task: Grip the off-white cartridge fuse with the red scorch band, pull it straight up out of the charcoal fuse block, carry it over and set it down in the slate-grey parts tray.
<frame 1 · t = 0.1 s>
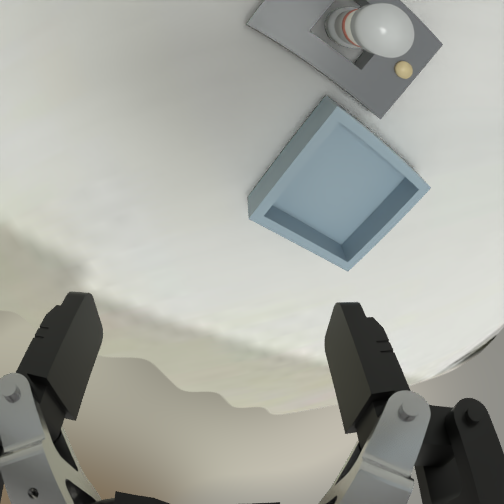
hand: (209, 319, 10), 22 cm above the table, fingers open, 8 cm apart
fuse block: (345, 27, 22), on the table
blown fuse: (345, 27, 22), resting in fuse block
parts tray: (335, 181, 32), on the table
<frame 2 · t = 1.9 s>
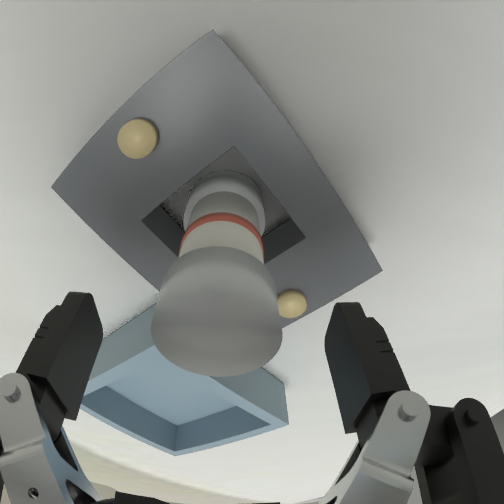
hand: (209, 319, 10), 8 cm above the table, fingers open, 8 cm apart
fuse block: (225, 205, 16), on the table
blown fuse: (225, 205, 16), resting in fuse block
parts tray: (174, 376, 25), on the table
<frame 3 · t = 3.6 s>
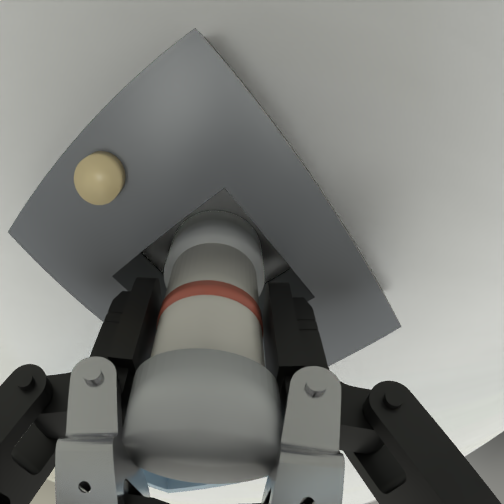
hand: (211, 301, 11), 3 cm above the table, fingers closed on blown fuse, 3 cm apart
fuse block: (216, 251, 14), on the table
blown fuse: (216, 251, 14), resting in fuse block, touching gripper
parts tray: (165, 419, 21), on the table
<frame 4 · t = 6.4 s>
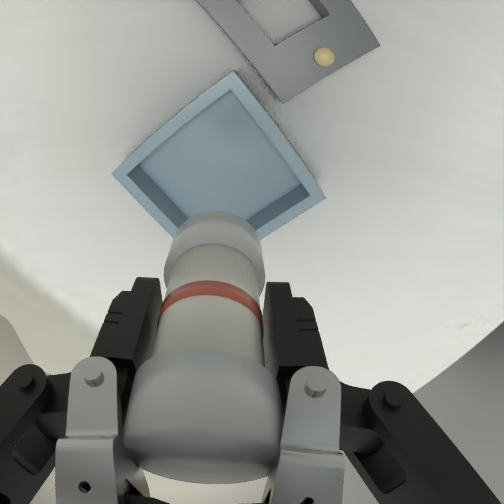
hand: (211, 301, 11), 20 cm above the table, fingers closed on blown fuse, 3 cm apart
fuse block: (279, 8, 21), on the table
blown fuse: (216, 251, 14), point 17 cm above the table, touching gripper
parts tray: (220, 167, 29), on the table
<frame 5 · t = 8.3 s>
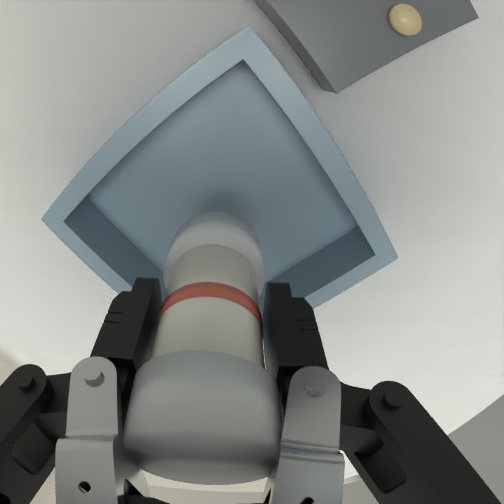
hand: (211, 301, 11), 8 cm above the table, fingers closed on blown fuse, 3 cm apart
blown fuse: (216, 252, 14), point 5 cm above the table, touching gripper
parts tray: (222, 201, 18), on the table
when the fingers open (6 cm above the table, at t = 9.5 s): blown fuse drops 1 cm, resting on parts tray.
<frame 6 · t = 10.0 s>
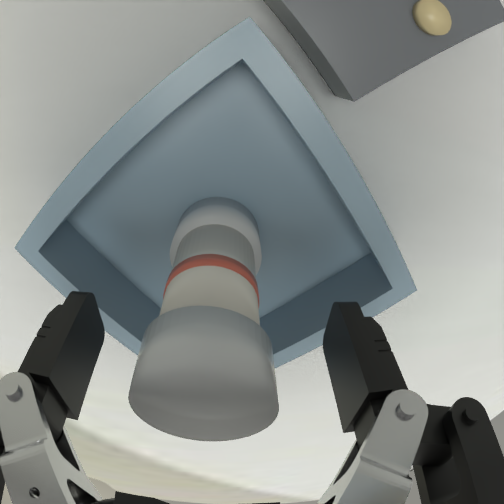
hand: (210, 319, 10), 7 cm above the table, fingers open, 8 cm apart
blown fuse: (217, 234, 15), point 1 cm above the table, touching parts tray
parts tray: (218, 224, 16), on the table
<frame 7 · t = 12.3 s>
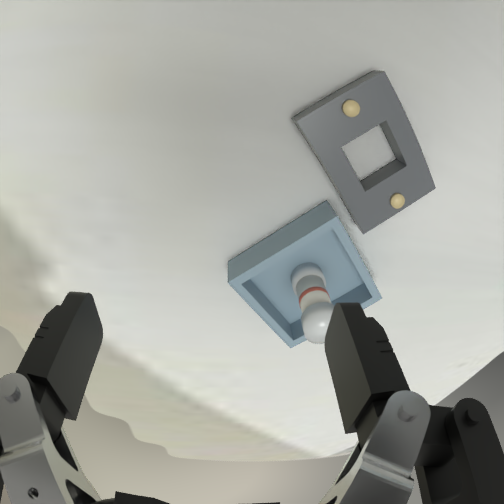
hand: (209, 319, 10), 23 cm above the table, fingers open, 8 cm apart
fuse block: (366, 150, 31), on the table
blown fuse: (306, 276, 37), point 1 cm above the table, touching parts tray
parts tray: (304, 271, 38), on the table
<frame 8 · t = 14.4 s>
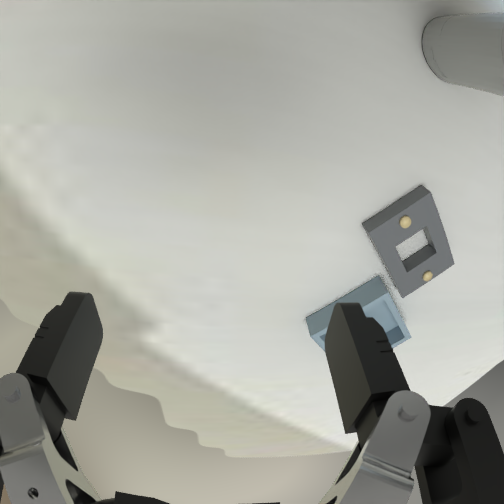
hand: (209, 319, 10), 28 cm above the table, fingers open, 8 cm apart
fuse block: (409, 240, 42), on the table
parts tray: (358, 320, 50), on the table
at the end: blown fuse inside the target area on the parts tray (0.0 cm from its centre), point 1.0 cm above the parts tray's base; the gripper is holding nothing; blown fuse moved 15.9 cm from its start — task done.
